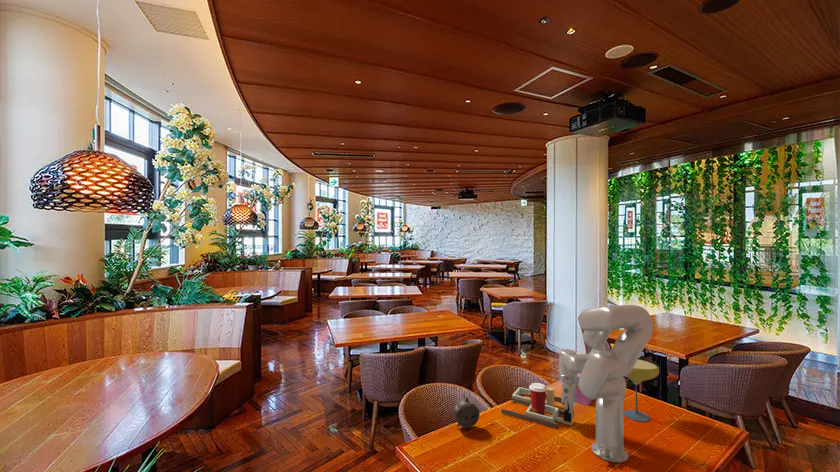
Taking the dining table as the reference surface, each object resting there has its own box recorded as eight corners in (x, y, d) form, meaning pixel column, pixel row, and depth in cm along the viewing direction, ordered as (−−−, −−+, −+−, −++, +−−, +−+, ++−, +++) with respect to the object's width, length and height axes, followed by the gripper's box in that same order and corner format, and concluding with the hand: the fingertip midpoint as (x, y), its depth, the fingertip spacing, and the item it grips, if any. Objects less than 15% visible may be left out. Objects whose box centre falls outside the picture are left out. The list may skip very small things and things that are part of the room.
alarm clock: (476, 424, 158) (476, 387, 158) (481, 430, 153) (480, 392, 153) (453, 427, 155) (453, 390, 156) (456, 433, 150) (456, 395, 151)
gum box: (583, 386, 200) (583, 362, 200) (598, 390, 195) (598, 365, 195) (572, 401, 181) (571, 375, 181) (588, 406, 176) (588, 378, 176)
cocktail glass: (666, 428, 154) (665, 371, 155) (620, 422, 160) (619, 367, 160) (651, 409, 172) (651, 358, 172) (610, 405, 177) (610, 354, 177)
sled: (569, 430, 153) (569, 411, 153) (525, 418, 163) (525, 400, 163) (574, 418, 163) (574, 401, 163) (532, 407, 173) (532, 391, 173)
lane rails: (556, 428, 154) (556, 424, 154) (501, 413, 168) (501, 409, 168) (569, 403, 178) (569, 399, 179) (520, 392, 192) (520, 388, 192)
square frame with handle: (550, 410, 170) (550, 393, 171) (512, 400, 181) (512, 385, 181) (556, 401, 180) (556, 385, 181) (519, 392, 191) (519, 377, 191)
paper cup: (548, 414, 167) (547, 384, 168) (544, 421, 161) (544, 390, 161) (531, 410, 171) (531, 381, 172) (527, 416, 165) (527, 386, 165)
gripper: (573, 386, 150) (574, 429, 149) (580, 373, 164) (580, 413, 164) (555, 382, 154) (555, 424, 154) (563, 370, 168) (563, 409, 168)
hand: (568, 418), depth 159 cm, fingers open, 4 cm apart
